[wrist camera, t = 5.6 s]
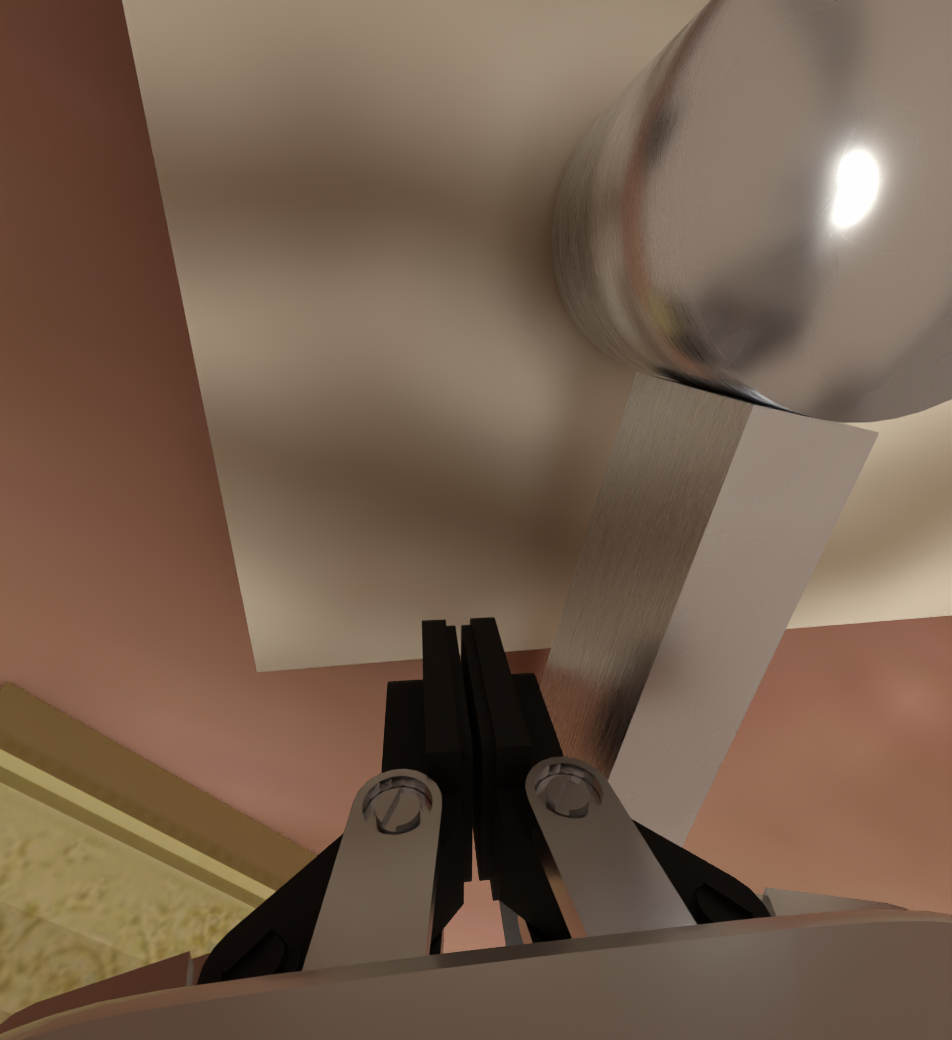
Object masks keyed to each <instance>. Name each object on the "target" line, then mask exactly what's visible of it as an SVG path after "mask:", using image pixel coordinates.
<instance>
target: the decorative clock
mask: <svg viewBox="0 0 952 1040" xmlns="http://www.w3.org/2000/svg"><path fill="white" fill-rule="evenodd" d="M315 857H317V855H315V854H313V853H312V852H310V851H308V850H306V849H305V848H303V847H301V846H299V845H297V844H296V843H294V842H292V841H290V840H289V839H287V838H285V837H283V836H281V835H280V834H278V833H276V832H274V831H273V830H271V829H269V828H267V827H265V826H264V825H262V824H260V823H258V822H257V821H255V820H253V819H251V818H249V817H248V816H246V815H244V814H242V813H241V812H239V811H237V810H235V809H233V808H232V807H230V806H228V805H226V804H224V803H223V802H221V801H219V800H217V799H216V798H214V797H212V796H210V795H208V794H207V793H205V792H203V791H201V790H200V789H198V788H196V787H194V786H192V785H191V784H189V783H187V782H185V781H184V780H182V779H180V778H178V777H176V776H175V775H173V774H171V773H169V772H168V771H166V770H164V769H162V768H160V767H159V766H157V765H155V764H153V763H152V762H150V761H148V760H146V759H144V758H143V757H141V756H139V755H137V754H136V753H134V752H132V751H130V750H128V749H127V748H125V747H123V746H121V745H120V744H118V743H116V742H114V741H112V740H111V739H109V738H107V737H105V736H104V735H102V734H100V733H98V732H96V731H95V730H93V729H91V728H89V727H88V726H86V725H84V724H82V723H80V722H79V721H77V720H75V719H73V718H72V717H70V716H68V715H66V714H64V713H63V712H61V711H59V710H57V709H56V708H54V707H52V706H50V705H48V704H47V703H45V702H43V701H41V700H40V699H38V698H36V697H34V696H32V695H31V694H29V693H27V692H25V691H24V690H22V689H20V688H18V687H16V686H15V685H13V684H11V683H9V682H8V683H7V684H6V685H5V686H4V687H3V688H1V689H0V1024H1V1023H2V1022H4V1021H5V1020H6V1019H8V1018H9V1017H10V1016H11V1015H13V1014H14V1013H16V1012H18V1011H20V1010H22V1009H24V1008H26V1007H28V1006H30V1005H33V1004H35V1003H37V1002H39V1001H42V1000H45V999H48V998H51V997H54V996H57V995H60V994H63V993H66V992H69V991H72V990H75V989H78V988H81V987H84V986H87V985H90V984H93V983H96V982H99V981H102V980H105V979H108V978H111V977H114V976H117V975H120V974H123V973H126V972H129V971H132V970H135V969H137V968H140V967H143V966H146V965H149V964H152V963H155V962H158V961H161V960H164V959H167V958H170V957H173V956H176V955H179V954H182V953H185V952H188V951H190V953H191V957H192V959H193V958H196V957H199V956H202V955H205V954H208V953H211V951H212V950H213V948H214V947H215V946H216V945H217V944H218V943H219V942H220V941H221V940H222V938H223V937H224V936H225V935H226V934H227V933H228V932H229V931H230V930H232V929H233V928H234V927H235V926H236V925H237V924H239V923H240V922H241V921H242V920H243V919H244V918H246V917H247V916H248V915H249V914H250V913H251V912H253V911H254V910H255V909H256V908H257V907H258V906H260V905H261V904H262V903H263V902H264V901H265V900H267V899H268V898H269V897H270V896H271V895H272V894H273V893H275V892H276V891H277V890H278V889H279V888H280V887H282V886H283V885H284V884H285V883H286V882H287V881H289V880H290V879H291V878H292V877H293V876H294V875H296V874H297V873H298V872H299V871H300V870H301V869H303V868H304V867H305V866H306V865H307V864H308V863H310V862H311V861H312V860H313V859H314V858H315Z"/></svg>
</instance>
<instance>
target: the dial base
mask: <svg viewBox="0 0 952 1040" xmlns="http://www.w3.org/2000/svg"><path fill="white" fill-rule="evenodd" d="M709 1H710V0H122V3H123V8H124V13H125V18H126V23H127V28H128V32H129V37H130V42H131V47H132V52H133V57H134V62H135V67H136V72H137V77H138V82H139V87H140V92H141V97H142V102H143V107H144V112H145V117H146V122H147V127H148V132H149V137H150V142H151V147H152V152H153V157H154V162H155V167H156V172H157V177H158V182H159V187H160V192H161V197H162V202H163V207H164V212H165V217H166V222H167V227H168V232H169V237H170V242H171V246H172V251H173V256H174V261H175V266H176V271H177V276H178V281H179V286H180V291H181V296H182V301H183V306H184V311H185V316H186V321H187V326H188V331H189V336H190V341H191V346H192V351H193V356H194V361H195V366H196V371H197V376H198V381H199V386H200V391H201V396H202V401H203V406H204V411H205V416H206V421H207V426H208V431H209V436H210V441H211V446H212V451H213V456H214V461H215V465H216V470H217V475H218V480H219V485H220V490H221V495H222V500H223V505H224V510H225V515H226V520H227V525H228V530H229V535H230V540H231V545H232V550H233V555H234V560H235V565H236V570H237V575H238V580H239V585H240V590H241V595H242V600H243V605H244V610H245V615H246V620H247V625H248V630H249V635H250V640H251V645H252V650H253V655H254V660H255V665H256V670H257V672H266V671H279V670H291V669H303V668H315V667H327V666H339V665H352V664H364V663H376V662H388V661H400V660H413V659H423V652H422V620H443V619H445V620H446V626H452V625H455V627H456V633H457V640H458V647H459V654H460V656H461V625H470V618H486V617H495V620H496V624H497V627H498V631H499V634H500V638H501V641H502V645H503V648H504V651H505V652H510V651H522V650H535V649H547V648H551V647H552V644H553V640H554V637H555V634H556V631H557V627H558V624H559V621H560V618H561V614H562V611H563V608H564V605H565V601H566V598H567V595H568V591H569V588H570V585H571V582H572V578H573V575H574V572H575V569H576V565H577V562H578V559H579V556H580V552H581V549H582V546H583V543H584V539H585V536H586V533H587V529H588V526H589V523H590V520H591V516H592V513H593V510H594V507H595V503H596V500H597V497H598V494H599V490H600V487H601V484H602V481H603V477H604V474H605V471H606V468H607V464H608V461H609V458H610V454H611V451H612V448H613V445H614V441H615V438H616V435H617V432H618V428H619V425H620V422H621V419H622V415H623V412H624V409H625V406H626V402H627V399H628V396H629V393H630V389H631V386H632V383H633V379H634V376H635V373H636V372H638V373H643V374H647V375H652V376H656V377H660V376H657V375H653V374H649V373H646V372H642V371H639V370H635V369H632V368H629V367H626V366H624V365H622V364H620V363H617V362H615V361H613V360H612V359H610V358H609V357H607V356H606V355H604V354H603V353H601V352H600V351H599V350H598V349H596V348H595V347H594V346H593V345H592V344H591V343H590V342H589V341H588V340H587V339H586V338H585V337H584V335H583V334H582V333H581V332H580V331H579V329H578V328H577V327H576V325H575V323H574V322H573V320H572V319H571V317H570V315H569V314H568V312H567V310H566V307H565V305H564V303H563V301H562V298H561V296H560V293H559V289H558V286H557V283H556V279H555V274H554V268H553V262H552V250H551V230H552V217H553V211H554V206H555V200H556V196H557V192H558V189H559V185H560V182H561V179H562V176H563V173H564V171H565V169H566V166H567V164H568V161H569V159H570V157H571V155H572V153H573V151H574V150H575V148H576V146H577V144H578V142H579V141H580V139H581V137H582V136H583V135H584V133H585V132H586V130H587V129H588V128H589V126H590V125H591V123H592V122H593V121H594V120H595V118H596V117H597V116H598V115H599V114H600V113H601V112H602V111H603V110H604V109H605V108H606V107H607V106H608V104H609V103H610V102H611V101H612V100H613V99H614V98H615V97H616V96H617V95H618V94H619V93H620V92H621V91H622V90H623V89H624V88H625V87H626V86H627V85H628V84H629V83H630V82H631V81H632V80H633V79H634V78H635V77H636V76H637V75H638V74H639V73H640V72H641V71H642V70H643V69H644V68H645V67H646V66H647V64H648V63H649V62H650V61H651V60H652V59H653V58H654V57H655V56H656V55H657V54H658V53H659V52H660V51H661V50H662V49H663V48H664V47H665V46H666V45H667V44H668V43H669V42H670V41H671V40H672V39H673V38H674V37H675V36H676V35H677V34H678V33H679V32H680V31H681V30H682V29H683V28H684V27H685V26H686V25H687V24H688V22H689V21H690V20H691V19H692V18H693V17H694V16H695V15H696V14H697V13H698V12H699V11H700V10H701V9H702V8H703V7H704V6H705V5H706V4H707V3H708V2H709ZM661 378H664V377H661ZM665 379H668V378H665ZM670 380H672V379H670ZM674 381H675V380H674ZM841 423H842V422H841ZM845 424H848V425H852V426H856V427H860V428H864V429H867V430H871V431H875V432H879V434H878V437H877V439H876V441H875V443H874V445H873V447H872V449H871V451H870V453H869V455H868V458H867V460H866V462H865V464H864V466H863V468H862V470H861V472H860V474H859V476H858V478H857V481H856V483H855V485H854V487H853V489H852V491H851V493H850V495H849V497H848V499H847V502H846V504H845V506H844V508H843V510H842V512H841V514H840V516H839V518H838V520H837V523H836V525H835V527H834V529H833V531H832V533H831V535H830V537H829V539H828V541H827V544H826V546H825V548H824V550H823V552H822V554H821V556H820V558H819V560H818V562H817V565H816V567H815V569H814V571H813V573H812V575H811V577H810V579H809V581H808V583H807V586H806V588H805V590H804V592H803V594H802V596H801V598H800V600H799V602H798V604H797V607H796V609H795V611H794V613H793V615H792V617H791V619H790V621H789V623H788V625H787V628H786V629H791V628H803V627H815V626H827V625H840V624H852V623H864V622H876V621H888V620H901V619H913V618H925V617H937V616H949V615H952V399H951V400H949V401H946V402H944V403H941V404H939V405H937V406H934V407H932V408H929V409H927V410H924V411H921V412H918V413H914V414H911V415H907V416H903V417H900V418H896V419H890V420H883V421H876V422H865V423H845Z"/></svg>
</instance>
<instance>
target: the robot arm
mask: <svg viewBox="0 0 952 1040" xmlns="http://www.w3.org/2000/svg"><path fill="white" fill-rule="evenodd" d="M422 652H423V680H408V681H391V682H388V685H387V699H386V714H385V728H384V743H383V758H382V773H381V774H378V775H377V776H375V777H374V778H372V779H370V780H369V781H367V782H366V783H365V785H364V786H363V787H362V788H361V789H360V790H359V791H358V793H357V795H356V797H355V799H354V801H353V804H352V808H351V811H350V814H349V818H348V821H347V824H346V827H345V831H344V833H343V834H342V835H341V836H340V837H339V838H338V839H336V840H335V841H334V842H333V843H332V844H331V845H329V846H328V847H327V848H326V849H325V850H324V851H322V852H321V853H320V854H319V855H318V856H317V857H315V858H314V859H313V860H312V861H311V862H310V863H308V864H307V865H306V866H305V867H304V868H303V869H301V870H300V871H299V872H298V873H297V874H296V875H294V876H293V877H292V878H291V879H290V880H289V881H287V882H286V883H285V884H284V885H283V886H282V887H280V888H279V889H278V890H277V891H276V892H275V893H273V894H272V895H271V896H270V897H269V898H268V899H267V900H265V901H264V902H263V903H262V904H261V905H260V906H258V907H257V908H256V909H255V910H254V911H253V912H251V913H250V914H249V915H248V916H247V917H246V918H244V919H243V920H242V921H241V922H240V923H239V924H237V925H236V926H235V927H234V928H233V929H232V930H230V931H229V932H228V933H227V934H226V935H225V936H224V937H223V938H222V940H221V941H220V942H219V943H218V944H217V945H216V946H215V947H214V948H213V950H212V951H211V953H208V954H205V955H202V956H199V957H196V958H193V959H192V957H191V953H190V951H188V952H185V953H182V954H179V955H176V956H173V957H170V958H167V959H164V960H161V961H158V962H155V963H152V964H149V965H146V966H143V967H140V968H137V969H135V970H132V971H129V972H126V973H123V974H120V975H117V976H114V977H111V978H108V979H105V980H102V981H99V982H96V983H93V984H90V985H87V986H84V987H81V988H78V989H75V990H72V991H69V992H66V993H63V994H60V995H57V996H54V997H51V998H48V999H45V1000H42V1001H39V1002H37V1003H35V1004H33V1005H30V1006H28V1007H26V1008H24V1009H22V1010H20V1011H18V1012H16V1013H14V1014H13V1015H11V1016H10V1017H9V1018H8V1019H6V1020H5V1021H4V1022H2V1023H1V1024H0V1040H952V915H949V914H943V913H936V912H929V911H912V910H907V909H905V908H902V907H899V906H895V905H892V904H888V903H882V902H875V901H867V900H859V899H851V898H843V897H835V896H828V895H820V894H812V893H804V892H796V891H789V890H781V889H773V888H765V890H764V894H763V895H759V894H754V893H753V891H752V890H751V889H750V888H748V887H747V886H745V885H744V884H743V883H741V882H740V881H738V880H737V879H736V878H734V877H732V876H731V875H729V874H727V873H725V872H724V871H722V870H720V869H718V868H717V867H715V866H713V865H711V864H710V863H708V862H706V861H704V860H703V859H701V858H699V857H697V856H696V855H694V854H692V853H690V852H689V851H687V850H685V849H683V848H682V847H680V846H678V845H676V844H675V843H673V842H671V841H670V840H668V839H666V838H664V837H663V836H661V835H659V834H657V833H656V832H654V831H652V830H650V829H649V828H647V827H645V826H643V825H642V824H640V823H638V822H636V821H635V820H633V819H631V818H630V816H629V814H628V813H627V811H626V809H625V808H624V806H623V805H622V803H621V801H620V800H619V798H618V797H617V795H616V793H615V792H614V790H613V789H612V787H611V785H610V784H609V782H608V781H607V779H606V778H605V777H604V776H603V775H602V773H601V772H600V771H599V770H597V769H596V768H594V767H593V766H592V765H590V764H589V763H586V762H584V761H581V760H579V759H576V758H570V757H564V755H563V752H562V749H561V746H560V743H559V741H558V738H557V735H556V732H555V729H554V727H553V724H552V721H551V718H550V715H549V712H548V710H547V707H546V704H545V701H544V698H543V696H542V693H541V690H540V687H539V684H538V681H537V679H536V677H535V675H534V674H533V673H525V674H511V672H510V669H509V665H508V662H507V658H506V655H505V651H504V648H503V645H502V641H501V638H500V634H499V631H498V627H497V624H496V620H495V617H486V618H470V625H461V661H460V654H459V647H458V640H457V633H456V627H455V625H452V626H446V620H445V619H443V620H422ZM472 826H473V834H474V842H475V851H476V859H477V867H478V875H479V880H480V881H482V880H490V883H491V890H492V897H493V901H494V900H500V901H501V902H502V903H503V904H505V905H506V906H507V907H509V908H510V909H511V910H512V911H514V912H515V913H516V914H517V915H518V923H519V929H520V934H521V937H522V940H523V943H524V944H522V945H513V946H505V947H496V948H488V949H479V950H471V951H462V952H453V953H445V954H443V946H444V927H445V926H446V925H447V924H448V922H449V921H450V920H451V919H452V917H453V916H454V915H455V914H456V913H457V911H458V910H459V909H460V908H461V906H462V905H463V904H464V882H470V881H472Z"/></svg>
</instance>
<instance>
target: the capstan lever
mask: <svg viewBox="0 0 952 1040" xmlns="http://www.w3.org/2000/svg"><path fill="white" fill-rule="evenodd" d="M551 250H552V262H553V268H554V274H555V279H556V283H557V286H558V289H559V293H560V296H561V298H562V301H563V303H564V305H565V307H566V310H567V312H568V314H569V315H570V317H571V319H572V320H573V322H574V323H575V325H576V327H577V328H578V329H579V331H580V332H581V333H582V334H583V335H584V337H585V338H586V339H587V340H588V341H589V342H590V343H591V344H592V345H593V346H594V347H595V348H596V349H598V350H599V351H600V352H601V353H603V354H604V355H606V356H607V357H609V358H610V359H612V360H613V361H615V362H617V363H620V364H622V365H624V366H626V367H629V368H632V369H635V370H639V371H642V372H646V373H649V374H653V375H657V376H660V377H656V376H652V375H647V374H643V373H638V372H636V373H635V376H634V379H633V383H632V386H631V389H630V393H629V396H628V399H627V402H626V406H625V409H624V412H623V415H622V419H621V422H620V425H619V428H618V432H617V435H616V438H615V441H614V445H613V448H612V451H611V454H610V458H609V461H608V464H607V468H606V471H605V474H604V477H603V481H602V484H601V487H600V490H599V494H598V497H597V500H596V503H595V507H594V510H593V513H592V516H591V520H590V523H589V526H588V529H587V533H586V536H585V539H584V543H583V546H582V549H581V552H580V556H579V559H578V562H577V565H576V569H575V572H574V575H573V578H572V582H571V585H570V588H569V591H568V595H567V598H566V601H565V605H564V608H563V611H562V614H561V618H560V621H559V624H558V627H557V631H556V634H555V637H554V640H553V644H552V647H551V650H550V653H549V657H548V660H547V663H546V666H545V670H544V673H543V676H542V680H541V683H540V686H539V687H540V690H541V693H542V696H543V698H544V701H545V704H546V707H547V710H548V712H549V715H550V718H551V721H552V724H553V727H554V729H555V732H556V735H557V738H558V741H559V743H560V746H561V749H562V752H563V755H564V757H570V758H576V759H579V760H581V761H584V762H586V763H589V764H590V765H592V766H593V767H594V768H596V769H597V770H599V771H600V772H601V773H602V775H603V776H604V777H605V778H606V779H607V781H608V782H609V784H610V785H611V787H612V789H613V790H614V792H615V793H616V795H617V797H618V798H619V800H620V801H621V803H622V805H623V806H624V808H625V809H626V811H627V813H628V814H629V816H630V818H631V819H633V820H635V821H636V822H638V823H640V824H642V825H643V826H645V827H647V828H649V829H650V830H652V831H654V832H656V833H657V834H659V835H661V836H663V837H664V838H666V839H668V840H670V841H671V842H673V843H675V844H676V845H678V846H680V847H682V846H683V844H684V842H685V840H686V837H687V835H688V833H689V831H690V829H691V827H692V825H693V823H694V821H695V819H696V816H697V814H698V812H699V810H700V808H701V806H702V804H703V802H704V800H705V798H706V795H707V793H708V791H709V789H710V787H711V785H712V783H713V781H714V779H715V777H716V774H717V772H718V770H719V768H720V766H721V764H722V762H723V760H724V758H725V756H726V753H727V751H728V749H729V747H730V745H731V743H732V741H733V739H734V737H735V735H736V732H737V730H738V728H739V726H740V724H741V722H742V720H743V718H744V716H745V714H746V711H747V709H748V707H749V705H750V703H751V701H752V699H753V697H754V695H755V693H756V691H757V688H758V686H759V684H760V682H761V680H762V678H763V676H764V674H765V672H766V670H767V667H768V665H769V663H770V661H771V659H772V657H773V655H774V653H775V651H776V649H777V646H778V644H779V642H780V640H781V638H782V636H783V634H784V632H785V630H786V628H787V625H788V623H789V621H790V619H791V617H792V615H793V613H794V611H795V609H796V607H797V604H798V602H799V600H800V598H801V596H802V594H803V592H804V590H805V588H806V586H807V583H808V581H809V579H810V577H811V575H812V573H813V571H814V569H815V567H816V565H817V562H818V560H819V558H820V556H821V554H822V552H823V550H824V548H825V546H826V544H827V541H828V539H829V537H830V535H831V533H832V531H833V529H834V527H835V525H836V523H837V520H838V518H839V516H840V514H841V512H842V510H843V508H844V506H845V504H846V502H847V499H848V497H849V495H850V493H851V491H852V489H853V487H854V485H855V483H856V481H857V478H858V476H859V474H860V472H861V470H862V468H863V466H864V464H865V462H866V460H867V458H868V455H869V453H870V451H871V449H872V447H873V445H874V443H875V441H876V439H877V437H878V434H879V432H875V431H871V430H867V429H864V428H860V427H856V426H852V425H848V424H845V423H865V422H876V421H883V420H890V419H896V418H900V417H903V416H907V415H911V414H914V413H918V412H921V411H924V410H927V409H929V408H932V407H934V406H937V405H939V404H941V403H944V402H946V401H949V400H951V399H952V0H710V1H709V2H708V3H707V4H706V5H705V6H704V7H703V8H702V9H701V10H700V11H699V12H698V13H697V14H696V15H695V16H694V17H693V18H692V19H691V20H690V21H689V22H688V24H687V25H686V26H685V27H684V28H683V29H682V30H681V31H680V32H679V33H678V34H677V35H676V36H675V37H674V38H673V39H672V40H671V41H670V42H669V43H668V44H667V45H666V46H665V47H664V48H663V49H662V50H661V51H660V52H659V53H658V54H657V55H656V56H655V57H654V58H653V59H652V60H651V61H650V62H649V63H648V64H647V66H646V67H645V68H644V69H643V70H642V71H641V72H640V73H639V74H638V75H637V76H636V77H635V78H634V79H633V80H632V81H631V82H630V83H629V84H628V85H627V86H626V87H625V88H624V89H623V90H622V91H621V92H620V93H619V94H618V95H617V96H616V97H615V98H614V99H613V100H612V101H611V102H610V103H609V104H608V106H607V107H606V108H605V109H604V110H603V111H602V112H601V113H600V114H599V115H598V116H597V117H596V118H595V120H594V121H593V122H592V123H591V125H590V126H589V128H588V129H587V130H586V132H585V133H584V135H583V136H582V137H581V139H580V141H579V142H578V144H577V146H576V148H575V150H574V151H573V153H572V155H571V157H570V159H569V161H568V164H567V166H566V169H565V171H564V173H563V176H562V179H561V182H560V185H559V189H558V192H557V196H556V200H555V206H554V211H553V217H552V230H551ZM661 377H664V378H661ZM665 378H668V379H665ZM670 379H672V380H670ZM674 380H675V381H674ZM841 422H842V423H841ZM499 903H500V909H501V916H502V923H503V929H504V936H505V942H506V946H513V945H522V944H524V943H523V940H522V937H521V934H520V929H519V923H518V915H517V914H516V913H515V912H514V911H512V910H511V909H510V908H509V907H507V906H506V905H505V904H503V903H502V902H501V901H500V900H499Z"/></svg>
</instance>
